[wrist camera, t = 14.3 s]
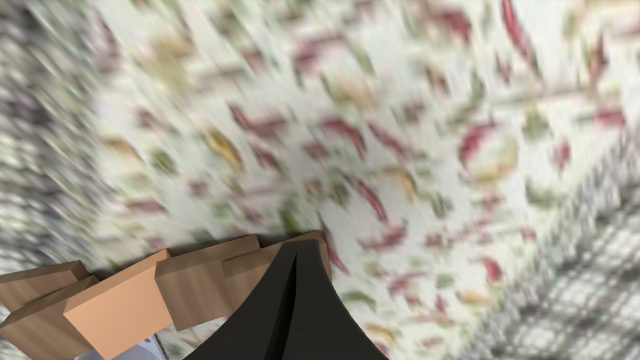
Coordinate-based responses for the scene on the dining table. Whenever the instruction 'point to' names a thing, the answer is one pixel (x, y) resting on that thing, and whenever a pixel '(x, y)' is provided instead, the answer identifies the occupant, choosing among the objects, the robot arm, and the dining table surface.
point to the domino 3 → (121, 308)
